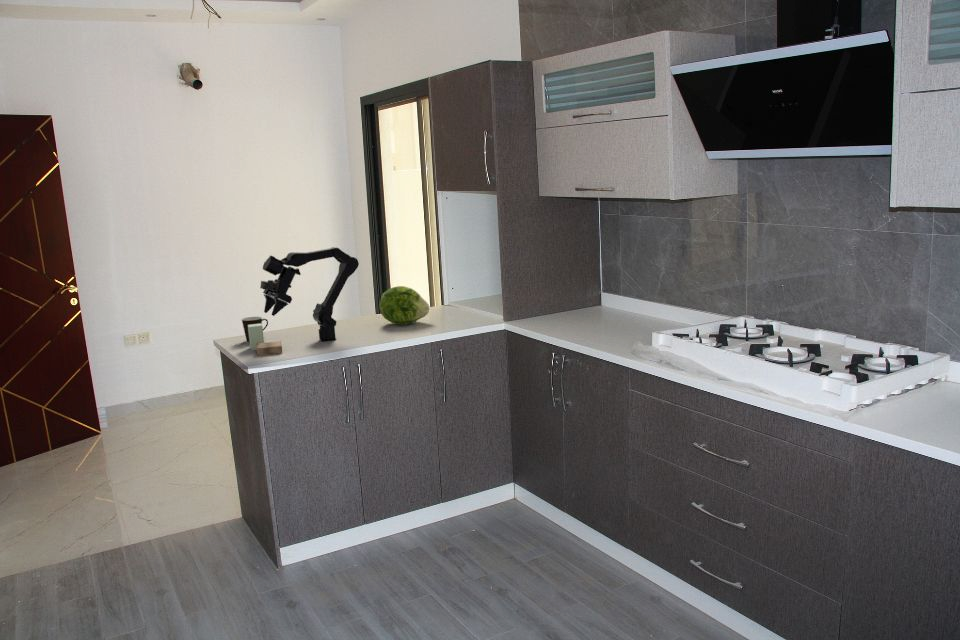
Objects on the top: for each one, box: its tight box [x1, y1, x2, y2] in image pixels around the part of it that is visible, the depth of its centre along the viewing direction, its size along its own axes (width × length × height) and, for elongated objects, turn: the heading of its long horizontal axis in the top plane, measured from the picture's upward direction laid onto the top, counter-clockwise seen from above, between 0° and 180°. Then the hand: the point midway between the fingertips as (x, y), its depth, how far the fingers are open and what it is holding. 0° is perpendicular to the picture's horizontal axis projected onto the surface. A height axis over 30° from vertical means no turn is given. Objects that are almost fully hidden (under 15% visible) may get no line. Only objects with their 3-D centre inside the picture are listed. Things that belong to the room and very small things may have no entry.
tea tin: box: [248, 323, 265, 351], centre depth 338 cm, size 6×6×10 cm
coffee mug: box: [241, 316, 269, 343], centre depth 354 cm, size 12×9×10 cm
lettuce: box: [379, 285, 430, 326], centre depth 374 cm, size 19×23×18 cm
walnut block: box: [256, 340, 283, 357], centre depth 330 cm, size 10×10×4 cm
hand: (268, 314), depth 333 cm, fingers open, 9 cm apart
